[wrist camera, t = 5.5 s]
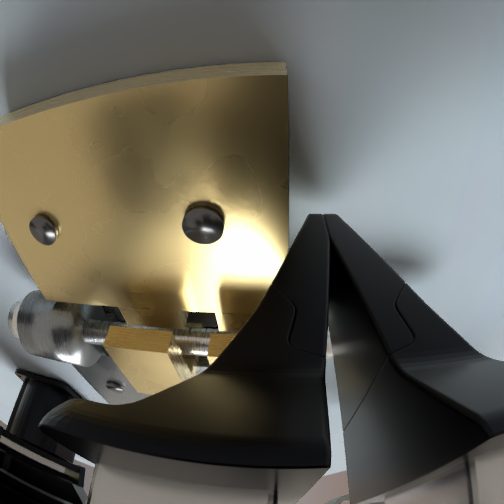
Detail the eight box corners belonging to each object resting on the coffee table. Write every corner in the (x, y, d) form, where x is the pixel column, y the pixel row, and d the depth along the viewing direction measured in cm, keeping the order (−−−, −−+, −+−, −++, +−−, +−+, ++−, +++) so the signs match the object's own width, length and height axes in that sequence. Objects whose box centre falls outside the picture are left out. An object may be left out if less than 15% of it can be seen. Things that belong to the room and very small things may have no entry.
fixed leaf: (101, 375, 19) (87, 420, 17) (24, 268, 13) (-10, 324, 10) (372, 390, 18) (378, 441, 15) (430, 273, 11) (458, 349, 8)
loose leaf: (96, 316, 14) (70, 378, 12) (6, 114, 8) (-68, 167, 5) (285, 326, 14) (283, 404, 11) (284, 62, 7) (290, 93, 4)
